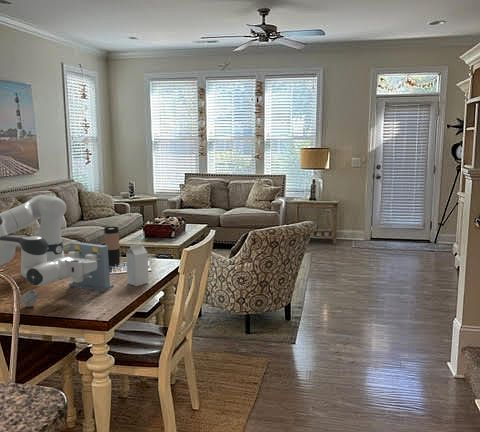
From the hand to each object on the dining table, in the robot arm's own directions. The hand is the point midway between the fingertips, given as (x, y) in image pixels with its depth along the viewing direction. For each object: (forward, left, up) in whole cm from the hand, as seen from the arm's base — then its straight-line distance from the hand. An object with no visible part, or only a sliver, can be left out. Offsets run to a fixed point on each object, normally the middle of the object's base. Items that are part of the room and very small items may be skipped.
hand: (88, 259), depth 210 cm
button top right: (0, +5, -2) cm, 5 cm away
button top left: (-11, +6, -2) cm, 13 cm away
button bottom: (-6, +2, -10) cm, 12 cm away
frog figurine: (-9, -25, -15) cm, 30 cm away
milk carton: (+11, +19, -15) cm, 27 cm away
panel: (-6, +6, -15) cm, 17 cm away
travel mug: (-24, +41, -15) cm, 50 cm away
